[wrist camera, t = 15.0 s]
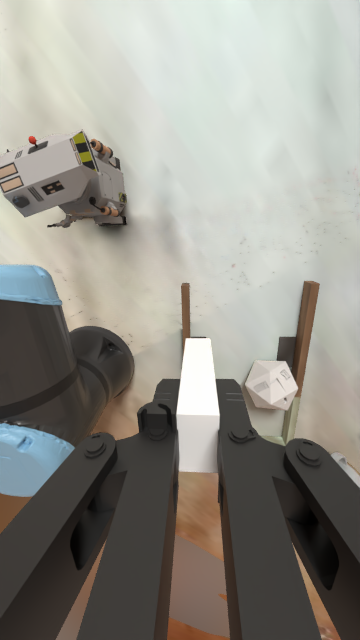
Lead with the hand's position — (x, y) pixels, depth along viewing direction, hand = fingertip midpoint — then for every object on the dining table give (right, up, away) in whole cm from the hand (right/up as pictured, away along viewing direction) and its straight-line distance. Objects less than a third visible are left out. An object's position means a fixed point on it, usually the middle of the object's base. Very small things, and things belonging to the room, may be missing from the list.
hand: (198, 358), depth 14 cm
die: (+13, -5, +29) cm, 32 cm away
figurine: (-14, +22, +22) cm, 34 cm away
